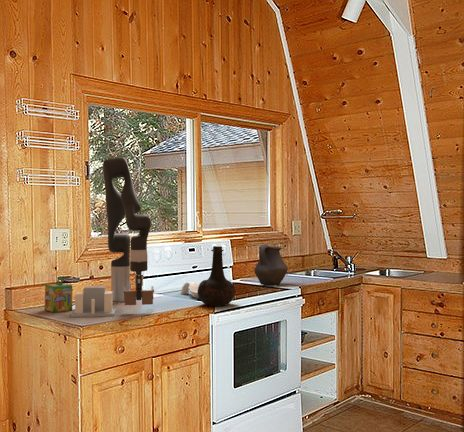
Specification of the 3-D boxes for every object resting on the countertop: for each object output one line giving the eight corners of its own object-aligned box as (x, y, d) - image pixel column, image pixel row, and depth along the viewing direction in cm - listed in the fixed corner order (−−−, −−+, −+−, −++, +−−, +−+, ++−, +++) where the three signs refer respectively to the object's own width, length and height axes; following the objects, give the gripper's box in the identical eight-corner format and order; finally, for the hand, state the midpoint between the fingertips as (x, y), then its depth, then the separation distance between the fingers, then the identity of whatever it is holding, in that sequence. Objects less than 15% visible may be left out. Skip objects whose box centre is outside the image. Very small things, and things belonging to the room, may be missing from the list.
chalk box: (44, 310, 253) (44, 277, 253) (63, 308, 259) (62, 276, 259) (53, 313, 246) (53, 279, 246) (73, 310, 253) (73, 277, 253)
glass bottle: (193, 303, 273) (193, 245, 273) (227, 301, 279) (227, 244, 279) (204, 309, 256) (204, 247, 256) (240, 306, 262) (240, 246, 262)
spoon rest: (217, 298, 291) (217, 284, 291) (198, 300, 284) (198, 286, 284) (193, 293, 310) (193, 280, 310) (174, 295, 303) (174, 281, 303)
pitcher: (293, 284, 346) (293, 244, 346) (277, 288, 328) (277, 245, 328) (264, 282, 357) (264, 243, 357) (246, 286, 339) (246, 244, 339)
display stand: (74, 311, 249) (74, 286, 249) (115, 310, 252) (115, 285, 252) (70, 317, 236) (70, 290, 236) (114, 315, 238) (114, 289, 238)
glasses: (124, 300, 258) (124, 287, 258) (153, 299, 260) (153, 286, 260) (123, 305, 244) (123, 291, 244) (154, 304, 246) (154, 290, 246)
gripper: (130, 258, 252) (130, 297, 253) (129, 261, 239) (130, 302, 239) (147, 258, 254) (147, 296, 254) (147, 261, 240) (147, 301, 240)
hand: (138, 299), depth 246 cm, fingers closed on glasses, 2 cm apart
